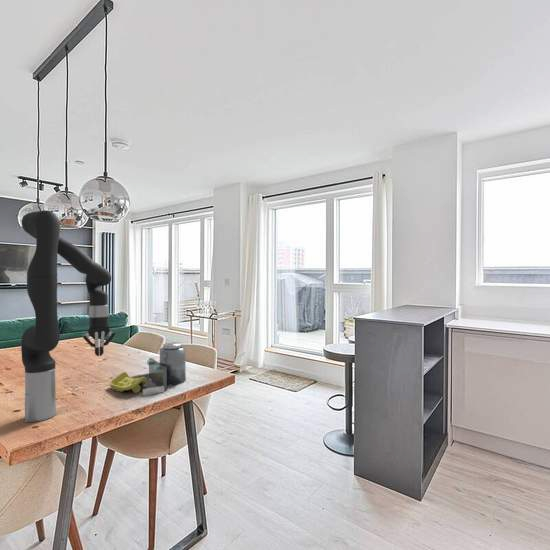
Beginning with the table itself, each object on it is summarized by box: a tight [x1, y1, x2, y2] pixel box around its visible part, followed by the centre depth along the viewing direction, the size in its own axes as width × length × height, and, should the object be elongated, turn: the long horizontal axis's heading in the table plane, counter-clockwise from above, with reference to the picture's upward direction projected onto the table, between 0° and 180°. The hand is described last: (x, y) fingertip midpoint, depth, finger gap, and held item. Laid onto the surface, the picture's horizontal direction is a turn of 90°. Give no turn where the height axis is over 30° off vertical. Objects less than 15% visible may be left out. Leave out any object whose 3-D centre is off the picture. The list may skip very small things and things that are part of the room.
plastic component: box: [108, 371, 148, 394], centre depth 153 cm, size 20×7×10 cm
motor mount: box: [129, 341, 187, 397], centre depth 162 cm, size 23×26×18 cm
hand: (99, 355), depth 147 cm, fingers closed
